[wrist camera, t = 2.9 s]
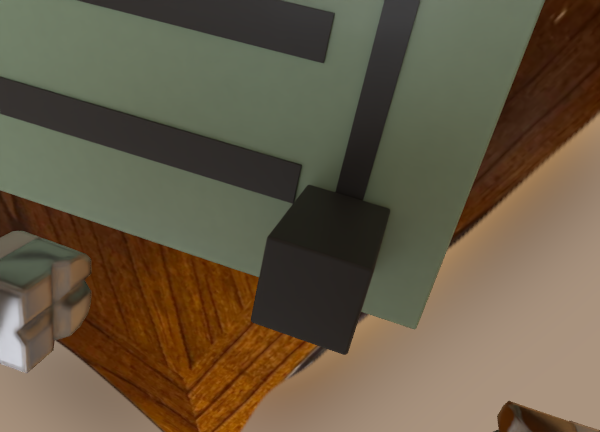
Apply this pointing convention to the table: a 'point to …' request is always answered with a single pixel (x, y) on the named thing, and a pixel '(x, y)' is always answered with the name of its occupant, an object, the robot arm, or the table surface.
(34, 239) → the robot arm
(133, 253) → the table surface
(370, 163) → the toaster
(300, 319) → the toaster slider
